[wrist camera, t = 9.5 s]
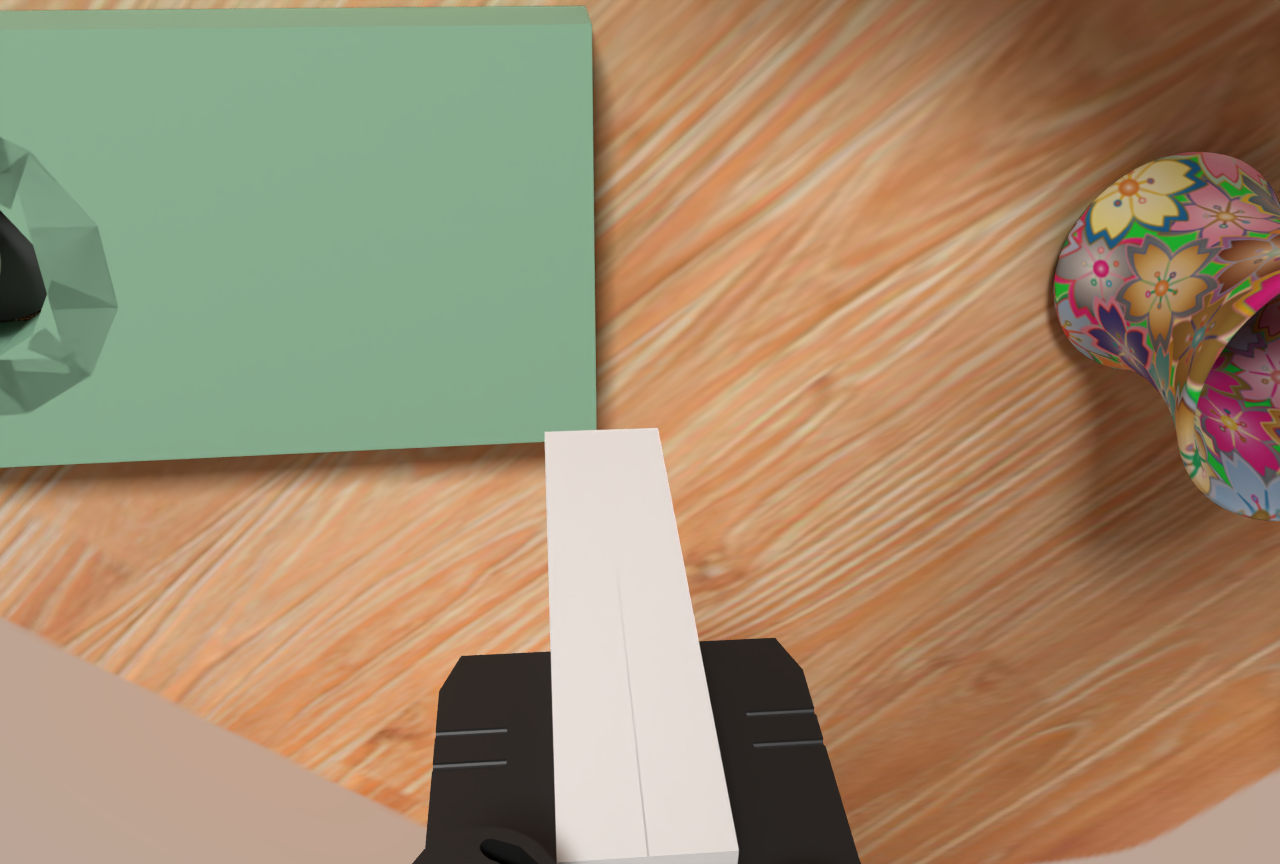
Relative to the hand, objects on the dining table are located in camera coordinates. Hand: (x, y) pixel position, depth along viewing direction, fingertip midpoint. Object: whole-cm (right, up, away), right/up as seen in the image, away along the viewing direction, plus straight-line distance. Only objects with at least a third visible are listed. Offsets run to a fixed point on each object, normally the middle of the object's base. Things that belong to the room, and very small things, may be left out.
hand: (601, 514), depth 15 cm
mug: (+21, +9, +26) cm, 34 cm away
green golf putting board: (-14, +8, +22) cm, 27 cm away
